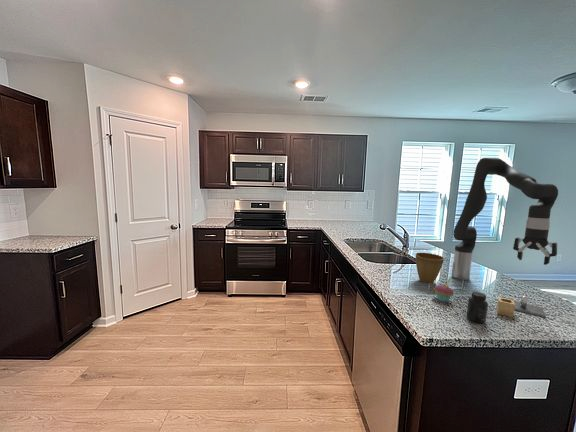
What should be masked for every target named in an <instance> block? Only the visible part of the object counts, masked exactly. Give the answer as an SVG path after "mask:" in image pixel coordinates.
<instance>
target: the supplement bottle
mask: <svg viewBox="0 0 576 432" xmlns="http://www.w3.org/2000/svg"><path fill="white" fill-rule="evenodd" d="M466 307H467V308H466V314H465V315H466V316H465V317H466V319H467V320H468V321H469V322H471V323H474V324H477V325H485V324H486V322H487V317H488V310H489V303H488V302H487V295H486V294H485V293H483V292H479V291H473V292H471V297H469V298H468V300H467V306H466Z"/></svg>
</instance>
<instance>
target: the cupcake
mask: <svg viewBox="0 0 576 432" xmlns="http://www.w3.org/2000/svg"><path fill="white" fill-rule="evenodd" d="M450 280H451V277H449V278H448V279H447V282H446V285H445V284H441V285H440V284H439V285H436V286H434V288H433V291H434V292H435V294H436V298H437V299H438V300H439V301H441V302H449V300H450V299H451V297H452V296H454V293H455V292H454V290H453V288H451V287H449V284H450Z"/></svg>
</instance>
